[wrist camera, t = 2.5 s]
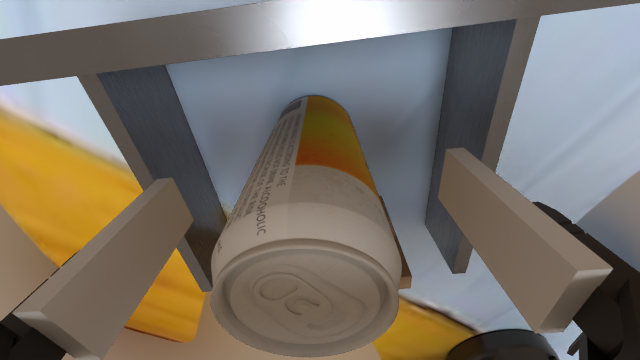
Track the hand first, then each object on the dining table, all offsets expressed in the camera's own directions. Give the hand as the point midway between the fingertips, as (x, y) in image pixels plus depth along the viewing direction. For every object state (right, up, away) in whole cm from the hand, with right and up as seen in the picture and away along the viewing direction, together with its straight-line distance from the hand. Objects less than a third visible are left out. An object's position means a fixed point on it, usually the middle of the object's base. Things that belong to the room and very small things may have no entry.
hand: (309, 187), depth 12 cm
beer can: (0, +4, +8) cm, 9 cm away
